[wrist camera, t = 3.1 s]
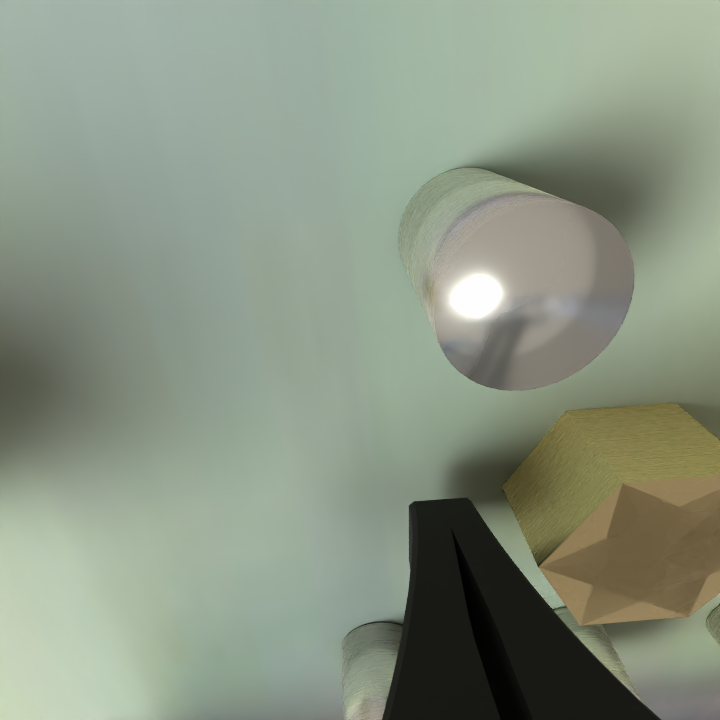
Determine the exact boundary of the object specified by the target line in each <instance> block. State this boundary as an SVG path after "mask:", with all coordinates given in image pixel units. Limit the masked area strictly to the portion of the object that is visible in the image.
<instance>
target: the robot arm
mask: <svg viewBox="0 0 720 720" xmlns="http://www.w3.org/2000/svg"><path fill="white" fill-rule="evenodd" d="M409 561H410V570H411V571H410V581H409V591H408V598H407V604H406V610H405V616H404V623H403V629H402V634H401V640H400V645H399V650H398V655H397V659H396V664H395V668H394V673H393V677H392V682H391V686H390V690H389V694H388V698H387V702H386V706H385V710H384V714H383V717H382V720H661V719H660V718H659V717H658V716H656V715H655V714H654V713H653V712H652V711H651V710H650V709H649V708H648V707H646V706H645V705H644V704H643V703H642V702H641V701H640V700H639V699H638V698H637V697H636V696H635V695H634V694H633V693H632V692H631V691H630V690H629V689H628V688H627V687H626V686H625V685H623V684H622V683H621V682H620V681H619V680H618V679H617V678H616V677H615V676H614V675H613V674H612V673H611V672H610V671H609V670H608V669H607V668H606V667H605V666H604V665H603V664H602V663H601V662H600V661H599V660H598V659H597V658H596V656H595V655H594V654H593V653H592V652H591V651H590V650H589V649H588V648H587V647H586V646H585V645H584V644H583V643H582V642H581V641H580V640H579V639H578V638H577V636H576V635H575V634H574V633H573V632H572V631H571V630H570V629H569V628H568V627H567V625H566V624H565V623H564V622H563V621H562V620H561V619H560V618H559V616H558V615H557V614H556V613H555V612H554V611H553V610H552V608H551V607H550V606H549V605H548V604H547V603H546V601H545V600H544V599H543V598H542V597H541V595H540V594H539V593H538V592H537V591H536V589H535V588H534V587H533V586H532V585H531V583H530V582H529V581H528V580H527V578H526V577H525V576H524V574H523V573H522V572H521V571H520V569H519V568H518V567H517V566H516V564H515V563H514V562H513V561H512V559H511V558H510V557H509V555H508V554H507V553H506V551H505V550H504V549H503V547H502V546H501V544H500V543H499V542H498V540H497V539H496V538H495V536H494V535H493V533H492V532H491V531H490V529H489V528H488V526H487V525H486V523H485V522H484V520H483V519H482V517H481V516H480V514H479V513H478V511H477V510H476V508H475V507H474V505H473V503H472V502H471V501H470V500H469V499H468V498H454V499H441V500H428V501H415V502H413V503H412V504H410V505H409Z"/></svg>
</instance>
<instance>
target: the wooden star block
mask: <svg viewBox="0 0 720 720" xmlns="http://www.w3.org/2000/svg"><path fill="white" fill-rule="evenodd" d="M502 487H503V490H504V492H505V494H506V496H507V499H508V501H509V503H510V505H511V507H512V510H513V512H514V514H515V516H516V519H517V521H518V523H519V525H520V527H521V530H522V532H523V534H524V536H525V539H526V541H527V543H528V545H529V547H530V550H531V552H532V554H533V556H534V559H535V561H536V563H537V565H538V567H539V569H540V570H541V572H542V573H543V574H544V576H545V577H546V579H547V580H548V581H549V583H550V584H551V585H552V587H553V588H554V590H555V591H556V592H557V594H558V595H559V597H560V598H561V599H562V601H563V602H564V604H565V605H566V606H567V608H568V609H569V611H570V612H571V613H572V615H573V616H574V618H575V619H576V620H577V622H578V623H579V625H580V626H582V625H594V624H606V623H618V622H630V621H642V620H653V619H665V618H677V617H689V616H690V615H691V614H693V613H694V612H695V611H696V610H698V609H699V608H700V607H702V606H703V605H704V604H706V603H707V602H708V601H710V600H711V599H712V598H714V597H715V596H716V595H717V594H719V593H720V440H719V439H717V438H716V437H715V436H714V435H713V434H712V433H710V432H709V431H708V430H707V429H706V428H705V427H703V426H702V425H701V424H700V423H699V422H697V421H696V420H695V419H694V418H693V417H692V416H690V415H689V414H688V413H687V412H686V411H685V410H683V409H682V408H681V407H680V406H679V405H678V404H676V403H666V404H652V405H639V406H625V407H612V408H598V409H585V410H571V411H566V412H565V413H564V414H563V415H562V416H561V418H560V419H559V420H558V421H557V422H556V424H555V425H554V426H553V427H552V428H551V429H550V431H549V432H548V433H547V434H546V435H545V437H544V438H543V439H542V440H541V441H540V442H539V444H538V445H537V446H536V447H535V448H534V449H533V451H532V452H531V453H530V454H529V455H528V457H527V458H526V459H525V460H524V461H523V462H522V464H521V465H520V466H519V467H518V468H517V470H516V471H515V472H514V473H513V474H512V475H511V477H510V478H509V479H508V480H507V481H506V482H505V484H504V485H503V486H502Z"/></svg>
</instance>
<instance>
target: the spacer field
mask: <svg viewBox="0 0 720 720" xmlns="http://www.w3.org/2000/svg"><path fill="white" fill-rule="evenodd" d="M398 244H399V252H400V257H401V260H402V262H403V265H404V267H405V269H406V272H407V274H408V276H409V278H410V280H411V283H412V285H413V287H414V289H415V291H416V294H417V296H418V298H419V300H420V302H421V305H422V307H423V309H424V311H425V313H426V316H427V318H428V320H429V322H430V324H431V327H432V329H433V331H434V333H435V335H436V338H437V340H438V342H439V344H440V346H441V348H442V350H443V352H444V354H445V356H446V357H447V359H448V360H449V361H450V363H451V364H452V365H453V366H454V367H455V368H456V369H457V370H458V371H459V372H460V373H462V374H463V375H464V376H466V377H467V378H469V379H471V380H472V381H474V382H476V383H478V384H481V385H484V386H487V387H490V388H495V389H499V390H510V391H513V390H528V389H535V388H539V387H543V386H547V385H550V384H553V383H556V382H558V381H560V380H562V379H565V378H567V377H569V376H570V375H572V374H574V373H576V372H577V371H579V370H580V369H582V368H583V367H585V366H586V365H587V364H589V363H590V362H591V361H592V360H593V359H595V358H596V357H597V356H598V355H599V354H600V353H601V352H602V351H603V350H604V349H605V348H606V346H607V345H608V344H609V343H610V342H611V340H612V339H613V338H614V336H615V335H616V333H617V332H618V330H619V328H620V327H621V325H622V323H623V321H624V319H625V317H626V314H627V312H628V309H629V306H630V303H631V300H632V294H633V289H634V267H633V261H632V257H631V253H630V250H629V248H628V246H627V244H626V241H625V240H624V238H623V237H622V235H621V234H620V232H619V231H618V230H617V229H616V228H615V226H614V225H613V224H612V223H611V222H610V221H608V220H607V219H606V218H604V217H603V216H601V215H600V214H598V213H596V212H594V211H592V210H590V209H588V208H586V207H583V206H580V205H578V204H575V203H572V202H570V201H567V200H565V199H562V198H559V197H557V196H554V195H551V194H549V193H546V192H544V191H541V190H538V189H536V188H533V187H530V186H528V185H525V184H523V183H520V182H517V181H515V180H512V179H509V178H507V177H504V176H501V175H499V174H496V173H494V172H491V171H488V170H485V169H480V168H459V169H454V170H451V171H447V172H445V173H443V174H440V175H438V176H437V177H435V178H433V179H431V180H430V181H429V182H427V183H426V184H425V185H424V186H423V187H422V188H421V189H420V190H419V191H418V192H417V193H416V194H415V195H414V197H413V198H412V199H411V201H410V202H409V204H408V206H407V207H406V209H405V212H404V214H403V216H402V220H401V223H400V228H399V235H398ZM553 611H554V612H555V613H556V614H557V615H558V616H559V618H560V619H561V620H562V621H563V622H564V623H565V624H566V625H567V627H568V628H569V629H570V630H571V631H572V632H573V633H574V634H575V635H576V636H577V638H578V639H579V640H580V641H581V642H582V643H583V644H584V645H585V646H586V647H587V648H588V649H589V650H590V651H591V652H592V653H593V654H594V655H595V656H596V658H597V659H598V660H599V661H600V662H601V663H602V664H603V665H604V666H605V667H606V668H607V669H608V670H609V671H610V672H611V673H612V674H613V675H614V676H615V677H616V678H617V679H618V680H619V681H620V682H621V683H622V684H623V685H625V686H626V687H627V688H628V689H629V690H630V691H631V692H632V693H633V694H634V695H635V696H636V697H637V698H638V699H639V700H640V701H641V702H642V700H641V698H640V696H639V694H638V692H637V690H636V688H635V686H634V684H633V682H632V681H631V679H630V677H629V675H628V673H627V671H626V669H625V667H624V665H623V663H622V661H621V659H620V658H619V656H618V654H617V652H616V650H615V648H614V646H613V644H612V642H611V640H610V638H609V637H608V635H607V633H606V631H605V629H604V627H603V625H602V624H594V625H582V626H580V625H579V623H578V622H577V620H576V619H575V618H574V616H573V615H572V613H571V612H570V611H569V609H568V608H560V609H556V610H553ZM706 627H707V629H708V631H709V632H710V634H711V635H712V637H713V638H714V639H715V641H716V642H717V643H718V645H719V646H720V606H718V607H717V608H716V609H715V610H714V611H713V612H712V613H711V614H710V615H709V617H708V619H707V621H706ZM402 629H403V626H401V625H397V624H393V623H373V624H368V625H364V626H361V627H359V628H357V629H355V630H353V631H352V632H350V633H349V634H348V635H347V636H346V637H345V639H344V640H343V643H342V683H343V720H382V717H383V714H384V710H385V706H386V702H387V698H388V694H389V690H390V686H391V682H392V677H393V673H394V668H395V664H396V659H397V655H398V650H399V645H400V640H401V634H402ZM642 703H643V702H642ZM643 704H644V703H643Z"/></svg>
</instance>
